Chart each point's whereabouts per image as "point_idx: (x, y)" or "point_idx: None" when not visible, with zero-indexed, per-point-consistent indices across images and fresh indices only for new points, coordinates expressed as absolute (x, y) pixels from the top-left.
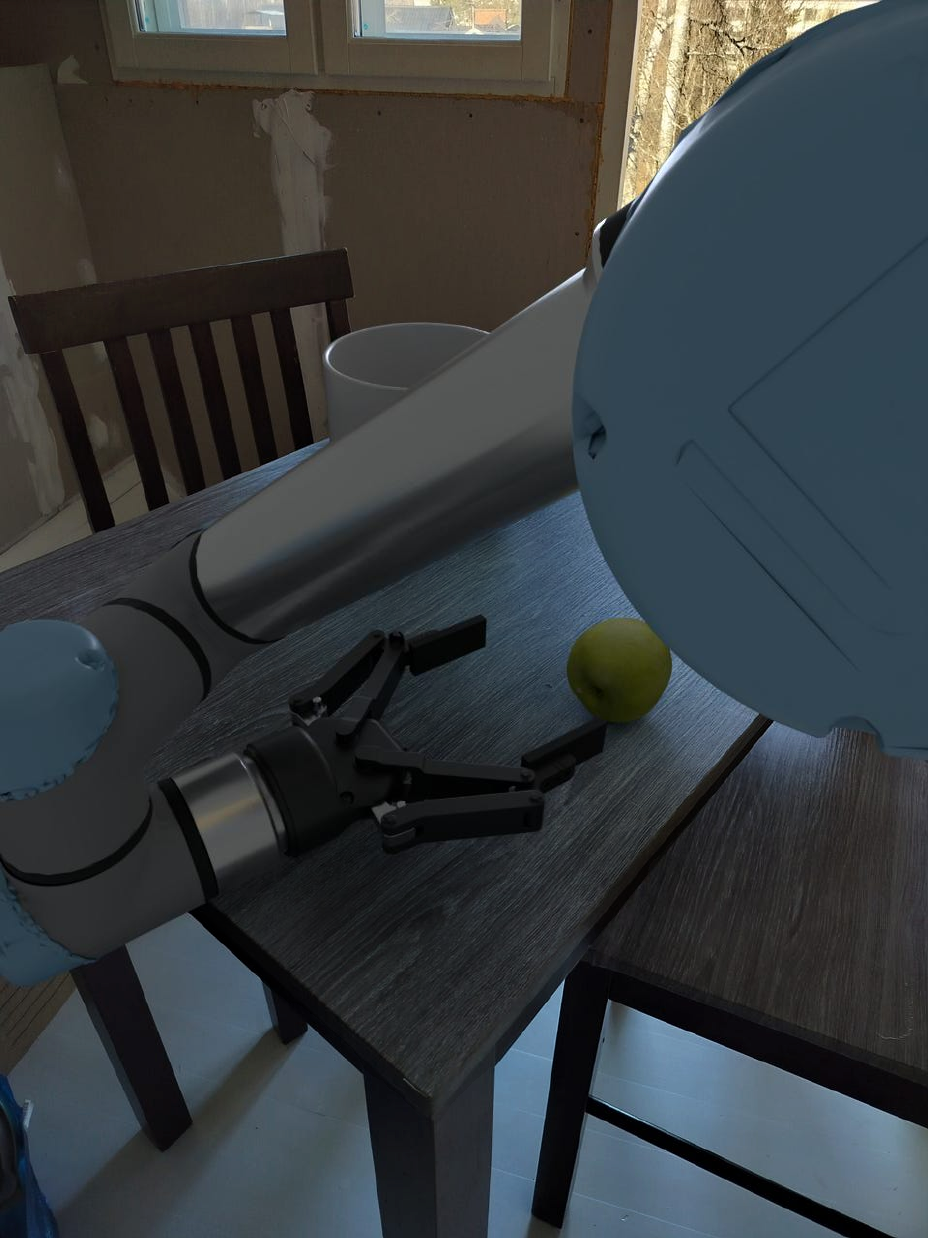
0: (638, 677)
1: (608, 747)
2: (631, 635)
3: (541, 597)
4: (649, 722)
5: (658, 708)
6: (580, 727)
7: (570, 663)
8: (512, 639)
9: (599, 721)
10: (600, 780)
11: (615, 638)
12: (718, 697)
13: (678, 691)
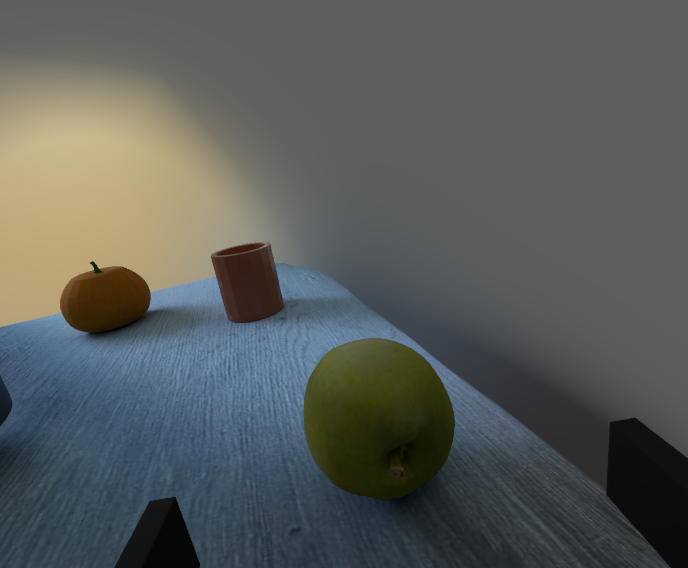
0: (436, 382)
1: (460, 514)
2: (380, 345)
3: (154, 457)
4: None
5: None
6: (668, 465)
7: (343, 449)
8: None
9: (632, 427)
10: (537, 564)
11: (374, 359)
12: None
13: None
